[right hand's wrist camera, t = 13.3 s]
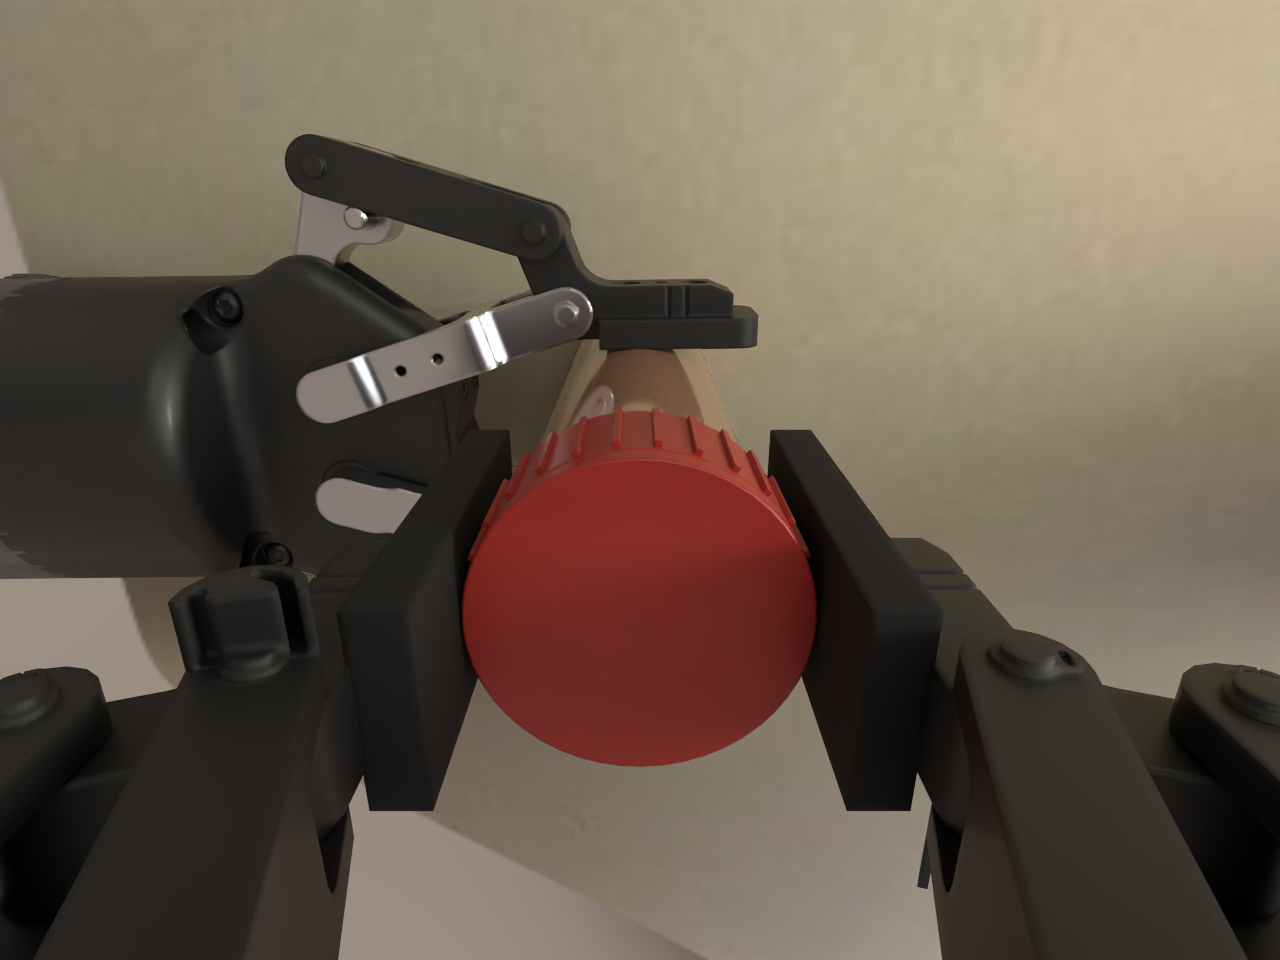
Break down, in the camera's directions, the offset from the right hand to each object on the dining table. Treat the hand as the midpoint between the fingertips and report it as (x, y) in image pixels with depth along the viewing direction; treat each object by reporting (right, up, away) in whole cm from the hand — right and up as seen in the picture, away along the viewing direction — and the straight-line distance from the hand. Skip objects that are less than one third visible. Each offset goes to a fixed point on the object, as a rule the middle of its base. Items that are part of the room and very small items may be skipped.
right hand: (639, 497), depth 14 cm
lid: (0, -1, -4) cm, 4 cm away
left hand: (+3, +2, +5) cm, 6 cm away
